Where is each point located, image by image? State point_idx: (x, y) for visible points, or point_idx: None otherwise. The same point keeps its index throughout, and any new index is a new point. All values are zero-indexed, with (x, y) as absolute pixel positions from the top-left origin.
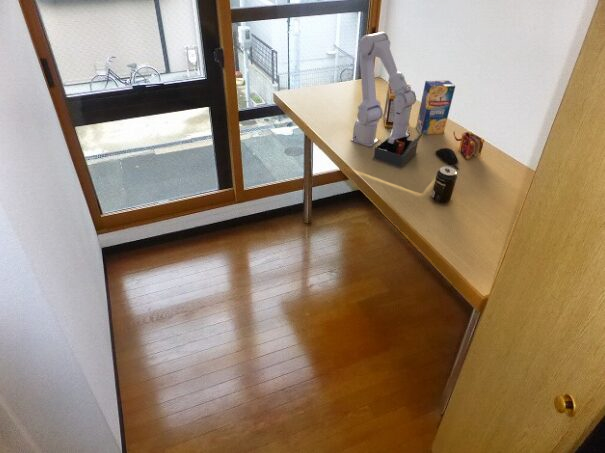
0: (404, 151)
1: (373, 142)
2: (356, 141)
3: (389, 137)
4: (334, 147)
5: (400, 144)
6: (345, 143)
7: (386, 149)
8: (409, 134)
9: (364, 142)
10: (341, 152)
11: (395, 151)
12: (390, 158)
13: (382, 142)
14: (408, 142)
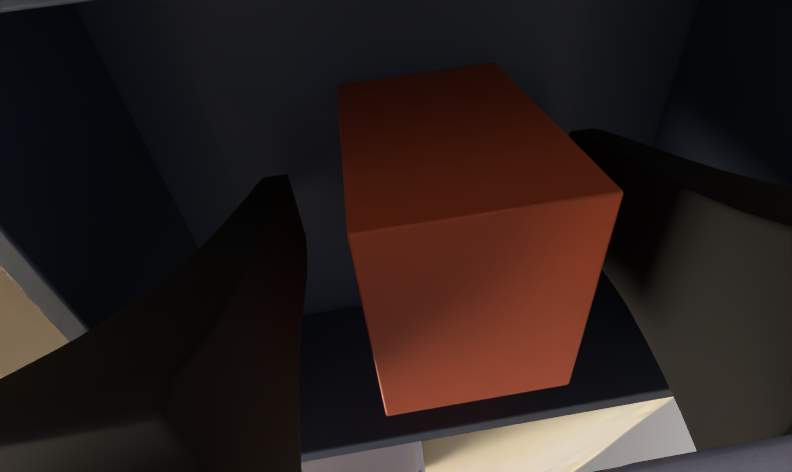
0: (189, 140)
1: None
2: (420, 463)
3: (302, 448)
4: (568, 462)
5: (530, 245)
6: (477, 466)
7: (352, 301)
8: (23, 448)
9: (412, 443)
10: (613, 421)
11: (687, 165)
12: (758, 117)
13: (530, 416)
14: (60, 220)
